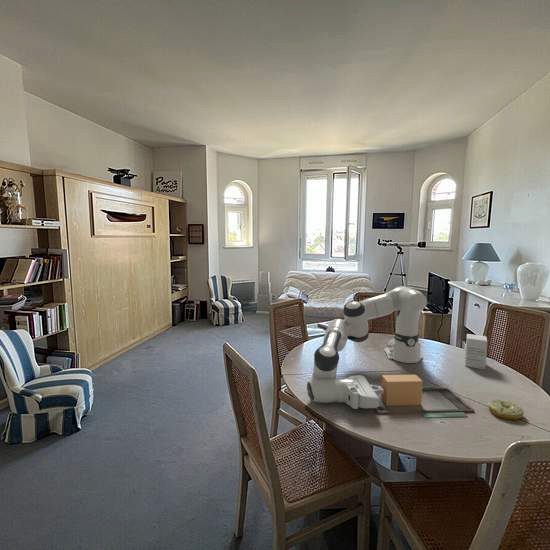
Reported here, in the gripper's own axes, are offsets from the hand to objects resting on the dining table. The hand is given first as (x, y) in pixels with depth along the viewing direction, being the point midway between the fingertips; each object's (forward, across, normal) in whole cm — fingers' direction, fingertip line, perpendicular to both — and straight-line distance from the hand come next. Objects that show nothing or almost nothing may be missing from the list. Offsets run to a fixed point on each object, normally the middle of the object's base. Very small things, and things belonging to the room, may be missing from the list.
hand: (382, 389), depth 128 cm
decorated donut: (+43, +10, -6) cm, 45 cm away
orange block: (+8, -1, -5) cm, 10 cm away
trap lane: (+14, 0, -5) cm, 15 cm away
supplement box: (+62, -35, -6) cm, 71 cm away
